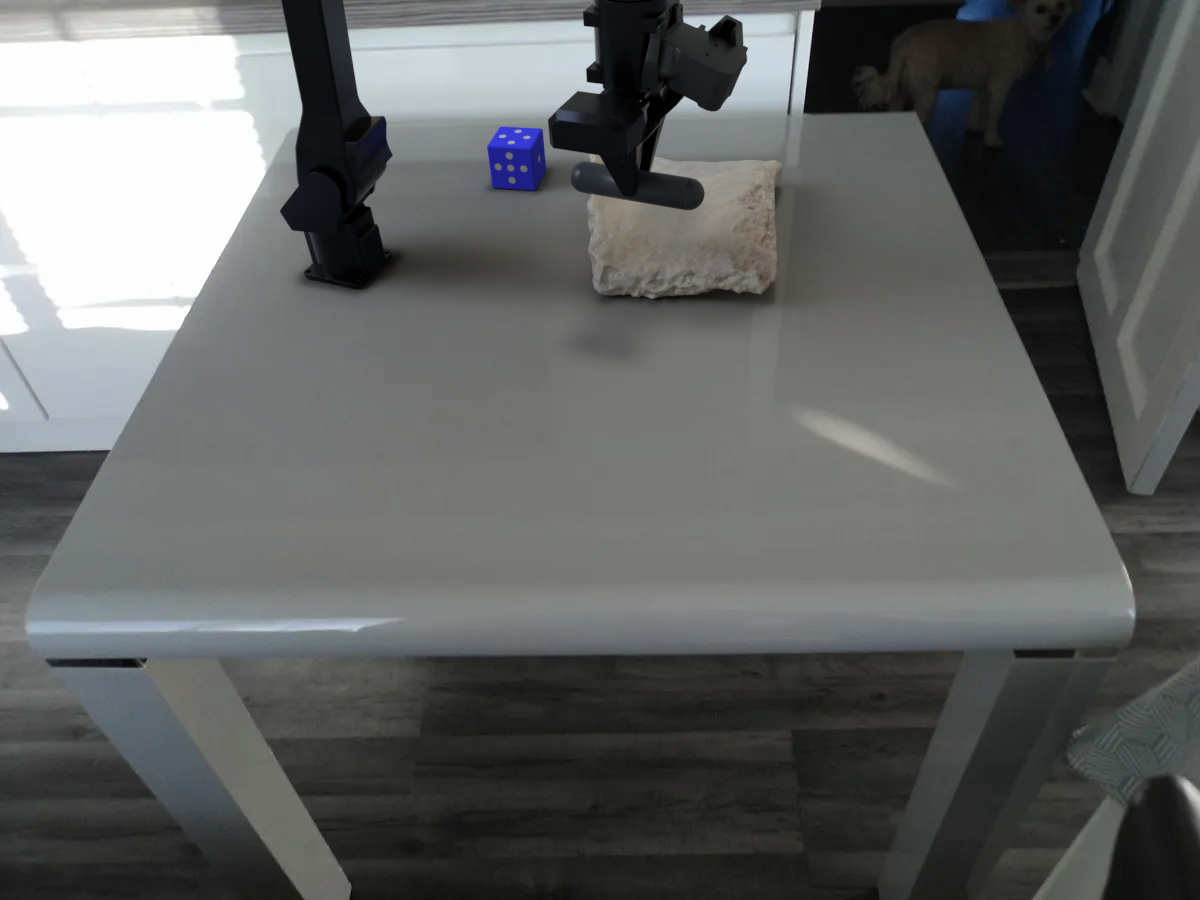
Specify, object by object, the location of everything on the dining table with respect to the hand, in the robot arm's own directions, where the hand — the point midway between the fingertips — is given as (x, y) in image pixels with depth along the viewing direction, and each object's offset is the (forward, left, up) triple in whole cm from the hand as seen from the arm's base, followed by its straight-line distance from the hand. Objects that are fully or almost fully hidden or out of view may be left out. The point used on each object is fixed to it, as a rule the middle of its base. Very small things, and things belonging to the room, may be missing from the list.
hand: (635, 188), depth 77 cm
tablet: (0, +12, -11) cm, 16 cm away
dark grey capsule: (0, 0, -1) cm, 1 cm away
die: (-21, +18, -11) cm, 30 cm away
